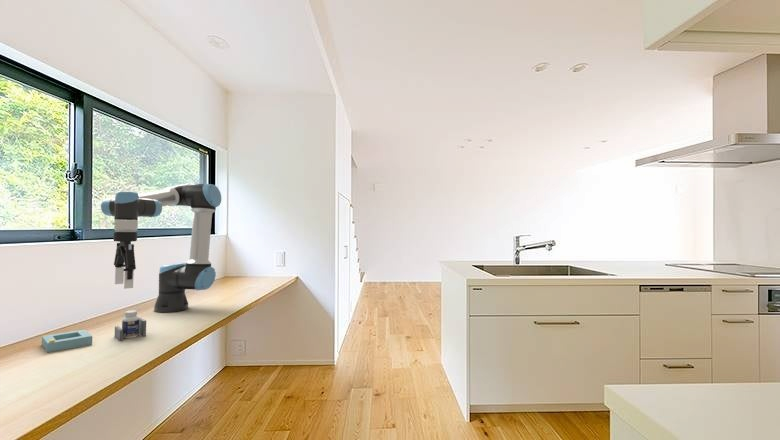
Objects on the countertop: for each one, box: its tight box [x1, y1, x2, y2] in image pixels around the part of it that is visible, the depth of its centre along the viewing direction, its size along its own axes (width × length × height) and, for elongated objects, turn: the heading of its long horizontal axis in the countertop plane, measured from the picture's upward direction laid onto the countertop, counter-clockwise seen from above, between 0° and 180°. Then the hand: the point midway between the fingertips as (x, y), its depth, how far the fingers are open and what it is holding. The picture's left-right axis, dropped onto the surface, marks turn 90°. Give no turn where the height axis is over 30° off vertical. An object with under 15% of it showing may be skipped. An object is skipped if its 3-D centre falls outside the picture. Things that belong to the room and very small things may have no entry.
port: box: [41, 329, 93, 353], centre depth 134 cm, size 12×12×4 cm
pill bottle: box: [121, 309, 140, 339], centre depth 145 cm, size 5×5×10 cm
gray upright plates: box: [114, 317, 147, 342], centre depth 145 cm, size 8×7×6 cm
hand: (123, 286), depth 145 cm, fingers open, 13 cm apart
